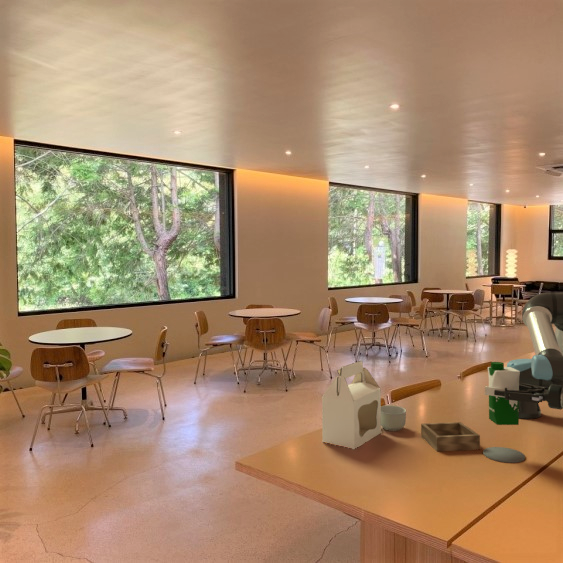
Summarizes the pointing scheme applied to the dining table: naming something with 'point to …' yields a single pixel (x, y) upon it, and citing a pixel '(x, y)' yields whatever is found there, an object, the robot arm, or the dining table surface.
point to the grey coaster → (504, 454)
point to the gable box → (351, 408)
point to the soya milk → (499, 406)
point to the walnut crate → (450, 436)
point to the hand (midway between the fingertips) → (490, 387)
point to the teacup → (393, 417)
